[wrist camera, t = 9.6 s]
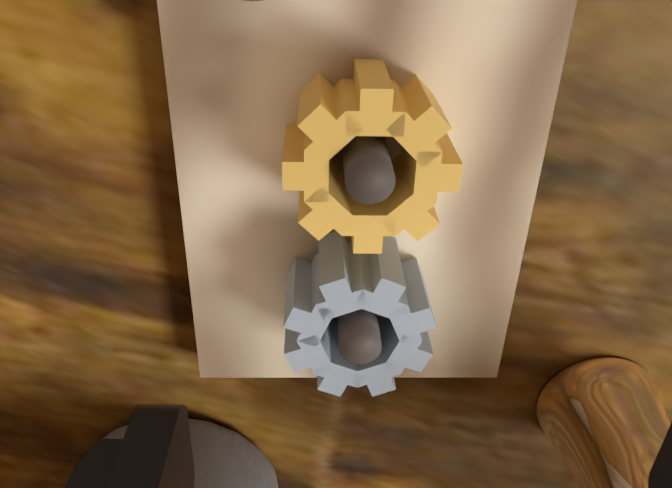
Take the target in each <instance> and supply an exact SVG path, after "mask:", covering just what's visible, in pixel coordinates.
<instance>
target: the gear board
mask: <svg viewBox="0 0 672 488" xmlns="http://www.w3.org/2000/svg"><path fill="white" fill-rule="evenodd" d="M576 4H577V0H157V8H158V16H159V25H160V34H161V42H162V51H163V59H164V68H165V77H166V85H167V94H168V103H169V111H170V120H171V129H172V137H173V146H174V155H175V163H176V172H177V181H178V189H179V198H180V207H181V215H182V224H183V233H184V241H185V250H186V259H187V267H188V276H189V285H190V293H191V302H192V310H193V319H194V328H195V336H196V345H197V354H198V362H199V371H200V378H317V375H315V374H314V372H313V370H312V369H311V367H310V368H307V369H303V370H300V371H297V372H294V371H293V370H292V368H291V366H290V364H289V362H288V361H287V359H286V357H285V355H284V344H285V329H286V328H284V327H283V324H284V310H285V296H286V282H287V274H288V272H289V270H290V268H291V266H292V264H293V261H294V259H295V257H299V258H302V259H305V260H308V261H310V262H312V260H313V258H314V256H315V254H318V253H319V244H318V240H317V239H316V238H315V237H314V236H313V235H311V234H310V233H309V232H308V231H307V230H306V229H305V228H303V227H302V226H301V225H300V224H299V223H298V213H299V193H300V191H288V190H283V188H282V157H283V149H284V140H285V131H286V124H297V123H298V109H299V95H300V91H301V90H302V89H303V88H304V87H305V86H307V85H308V84H309V83H310V82H311V81H312V80H313V79H314V78H315V77H316V76H317V75H318V74H319V73H321V74H322V75H323V76H324V77H325V78H326V80H327V81H328V82H329V83H330V84H331V85H332V86H333V87H334V86H335V85H336V84H337V83H338V82H339V81H340V80H341V79H354V59H383V61H384V64H385V66H386V69H387V72H388V74H389V77H390V80H394V81H395V82H396V83H397V84H398V85H399V86H400V88H401V87H402V86H403V85H404V84H406V83H407V82H408V81H409V80H410V79H411V78H412V77H413V76H414V75H415V74H416V75H417V76H418V77H419V78H420V79H421V81H422V82H423V83H424V84H425V85H426V86H427V87H428V88H429V90H430V91H431V92H432V93H433V94H434V96H435V98H436V100H437V101H438V103H439V105H440V107H441V109H442V111H443V112H444V114H445V116H446V118H447V120H448V122H449V124H450V125H451V127H452V129H451V130H449V131H448V132H447V134H448V136H449V138H450V140H451V142H452V144H453V146H454V148H455V150H456V152H457V154H458V155H459V157H460V159H461V161H462V163H463V167H462V174H461V181H460V188H459V192H438V195H437V203H436V204H435V205H434V209H435V211H436V214H437V217H438V220H439V222H440V224H439V225H438V226H437V227H435V228H434V229H433V230H432V231H430V232H429V233H428V234H426V235H425V236H424V237H423V238H421V239H420V240H419V241H418V242H417V241H416V240H415V239H414V238H413V237H412V236H411V235H410V234H409V233H408V232H407V231H406V230H405V229H404V230H402V231H401V232H400V233H399V234H397V235H396V236H392V237H394V238H396V242H397V246H398V251H399V255H400V260H401V262H403V261H406V260H409V259H412V258H415V257H416V259H417V261H418V264H419V267H420V269H421V272H422V275H423V278H424V282H425V285H426V289H427V293H428V296H429V300H430V304H431V308H432V311H433V315H434V319H435V322H436V326H437V328H435V329H431V330H428V335H429V339H430V343H431V347H432V351H433V355H432V357H431V358H430V360H429V361H428V363H427V364H426V366H425V367H424V369H423V370H422V372H418V371H415V370H412V369H409V368H406V367H405V368H404V370H403V371H402V373H401V374H400V375H397V376H394V378H444V377H497V374H498V369H499V365H500V360H501V355H502V351H503V346H504V341H505V337H506V332H507V327H508V323H509V318H510V313H511V309H512V304H513V299H514V294H515V290H516V285H517V280H518V276H519V271H520V266H521V262H522V257H523V252H524V248H525V243H526V238H527V234H528V229H529V224H530V220H531V215H532V210H533V205H534V201H535V196H536V191H537V187H538V182H539V177H540V173H541V168H542V163H543V159H544V154H545V149H546V145H547V140H548V135H549V130H550V126H551V121H552V116H553V112H554V107H555V102H556V98H557V93H558V88H559V84H560V79H561V74H562V70H563V65H564V60H565V56H566V51H567V46H568V41H569V37H570V32H571V27H572V23H573V18H574V13H575V9H576ZM400 153H401V144H400V143H399V142H398V141H397V140H396V139H395V138H394V137H388V136H355V137H354V138H353V139H352V140H351V141H350V142H349V143H348V144H347V145H345V146H344V147H343V148H342V149H341V150H340V151H339V152H338V153H337V154H335V155H334V156H333V157H332V158H333V159H334V160H335V161H337V162H338V163H339V164H340V165H341V166H342V167H343V168H344V178H345V186H346V190H347V192H348V194H349V195H350V196H351V197H352V198H353V199H354V200H355V201H357V202H359V203H362V204H376V203H379V202H382V201H383V200H385V199H386V198H388V197H389V196H390V194H391V193H392V191H393V189H394V187H395V182H396V179H395V174H394V170H393V166H392V162H391V161H392V160H393V159H394V158H396V157H397V156H398V155H399V154H400ZM335 231H336V230H335V229H332V230H331V231H330V232H329V233H332V232H335ZM329 233H328V234H329ZM345 238H346V241H347V243H350V242H352V237H351V236H345ZM337 321H338V341H339V352H340V355H341V356H342V358H343V359H345V360H346V361H348V362H350V363H353V364H366V363H369V362H371V361H373V360H375V359H376V358H377V357H378V356H379V355H380V353H381V349H382V344H381V337H380V330H379V323H378V316H377V314H375V313H372V312H369V311H366V310H364V309H359V310H356V311H353V312H350V313H347V314H344V315H341V316H338V317H337Z"/></svg>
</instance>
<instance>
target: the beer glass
mask: <svg viewBox="0 0 672 488" xmlns="http://www.w3.org/2000/svg"><path fill="white" fill-rule="evenodd" d="M536 413H537V419H538V422H539V424H540V426H541V428H542V429H543V431H544V433H545V434H546V436H547V437H548V439H549V440H550V441H551V443H552V444H553V446H554V447H555V449H556V450H557V451H558V453H559V455H560V456H561V458H562V460H563V461H564V463H565V466H566V468H567V470H568V472H569V475H570V477H571V480H572V483H573V486H574V488H648V478H649V473H650V471H651V468H652V466H653V464H654V461H655V459H656V457H657V454H658V452H659V450H660V448H661V445H662V443H663V441H664V438H665V436H666V434H667V431H668V429H669V427H670V425H671V422H670V420H669V418H668V416H667V414H666V412H665V410H664V407H663V404H662V402H661V399H660V396H659V394H658V391H657V389H656V386H655V384H654V382H653V380H652V378H651V377H650V375H649V374H648V373H647V372H646V371H645V370H644V369H643V368H642V367H641V366H639V365H638V364H636V363H634V362H632V361H629V360H626V359H621V358H614V357H603V358H594V359H589V360H585V361H582V362H579V363H576V364H574V365H572V366H570V367H568V368H566V369H564V370H563V371H561V372H560V373H558V374H557V375H556V376H555V377H553V378H552V379H551V380H550V381H549V382H548V383H547V385H546V386H545V387H544V389H543V390H542V392H541V393H540V395H539V398H538V401H537V406H536Z"/></svg>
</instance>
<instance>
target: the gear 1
mask: <svg viewBox="0 0 672 488" xmlns="http://www.w3.org/2000/svg"><path fill="white" fill-rule="evenodd" d="M451 129H452V127H451V125H450V124H449V122H448V120H447V118H446V116H445V114H444V112H443V111H442V109H441V107H440V105H439V103H438V101H437V100H436V98H435V96H434V94H433V93H432V92H431V91H430V90H429V88H428V87H427V86H426V85H425V84H424V83H423V82H422V81H421V79H420V78H419V77H418V76H417V75H416V74H415V75H414V76H413V77H412V78H411V79H410V80H409V81H408V82H407V83H406V84H404V85H403V86H402V87H401V88H400V86H399V85H398V84H397V83H396V82H395V81H394V80H390V77H389V74H388V72H387V69H386V66H385V64H384V61H383V59H354V79H341V80H340V81H339V82H338V83H337V84H336V85H335V86H334V87H333V86H332V85H331V84H330V83H329V82H328V81H327V80H326V78H325V77H324V76H323V75H322V74H321V73H319V74H318V75H317V76H316V77H315V78H314V79H313V80H312V81H311V82H310V83H309V84H308V85H307V86H305V87H304V88H303V89H302V90H301V91H300V95H299V109H298V123H297V124H286V131H285V140H284V149H283V157H282V188H283V190H288V191H300V193H299V213H298V223H299V224H300V225H301V226H302V227H303V228H305V229H306V230H307V231H308V232H309V233H310V234H311V235H313V236H314V237H315V238H316V239H317V240H318V241H319V240H321V239H322V238H323V237H324V236H325V235H327V234H328V233H329V232H330V231H331V230H332V229H335V230H336V231H337V232H338V233H339V234H340V235H341V236H351V237H352V247H353V254H382V245H383V236H396V235H397V234H399V233H400V232H401V231H402V230H404V229H405V230H406V231H407V232H408V233H409V234H410V235H411V236H412V237H413V238H414V239H415V240H416V241H417V242H418V241H419V240H420V239H421V238H423V237H424V236H425V235H426V234H428V233H429V232H430V231H432V230H433V229H434V228H435V227H437V226H438V225H439V224H440V222H439V220H438V217H437V214H436V211H435V209H434V205H435V204H436V203H437V195H438V192H459V188H460V181H461V174H462V167H463V163H462V161H461V159H460V157H459V155H458V154H457V152H456V150H455V148H454V146H453V144H452V142H451V140H450V138H449V136H448V134H447V132H448V131H449V130H451ZM355 136H388V137H394V138H395V139H396V140H397V141H398V142H399V143H400V144H401V153H400V154H399V155H398V156H397V157H396V158H394V159H393V160H392V161H391V162H392V166H393V170H394V174H395V179H396V182H395V187H394V189H393V191H392V193H391V194H390V196H389V197H388V198H386V199H385V200H383V201H382V202H379V203H376V204H362V203H359V202H357V201H355V200H354V199H353V198H352V197H351V196H350V195H349V194H348V192H347V190H346V186H345V178H344V168H343V167H342V166H341V165H340V164H339V163H338V162H337V161H335V160H334V159H333V158H332V157H333V156H334V155H335V154H337V153H338V152H339V151H340V150H341V149H342V148H343V147H344V146H345V145H347V144H348V143H349V142H350V141H351V140H352V139H353V138H354V137H355Z"/></svg>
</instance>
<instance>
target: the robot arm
mask: <svg viewBox="0 0 672 488" xmlns="http://www.w3.org/2000/svg"><path fill="white" fill-rule="evenodd" d="M194 482H195V470H194V460H193V453H192V445H191V437H190V429H189V422H188V414H187V409H186V406H185V405H137V406H136V407H135V409H134V411H133V413H132V416H131V418H130V421H129V424H128V427H127V429H126V432H125V435H124V438H123V439H99V440H98V441H97V442H96V443H95V445H94V446H93V447H92V448H91V449H90V450H89V451H88V452H87V453H86V454H85V455H84V457H83V458H82V459H81V460H80V461H79V462H78V463H77V464H76V465H75V467H74V469H73V472H72V474H71V476H70V479H69V481H68V483H67V486H66V488H194ZM648 488H672V422H671V425H670V427H669V429H668V431H667V434H666V436H665V438H664V441H663V443H662V445H661V448H660V450H659V452H658V454H657V457H656V459H655V461H654V464H653V466H652V468H651V471H650V473H649V478H648Z"/></svg>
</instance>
